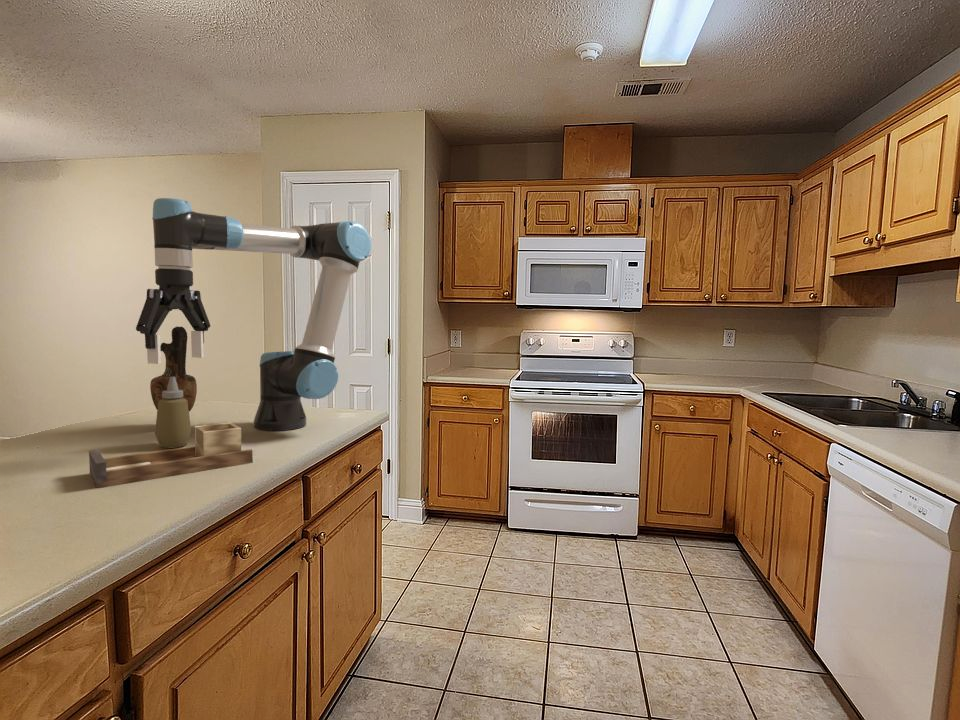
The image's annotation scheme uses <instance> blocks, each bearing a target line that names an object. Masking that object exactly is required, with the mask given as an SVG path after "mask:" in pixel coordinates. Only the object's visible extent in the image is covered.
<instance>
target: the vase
mask: <svg viewBox="0 0 960 720" xmlns="http://www.w3.org/2000/svg"><path fill="white" fill-rule="evenodd" d="M188 338H189V337H188V332H187V330H186V328H185V327H183V326H174V327H173V328H172V329H171V342H170V343H166V342H162V343H160V350H161V352H163V354H164V358H165V370H164V372H163V374H160V375H158V376H156V377H153V378H152V379H151V380H150V382H149V383H150V385H149V387H150V388H149V389H150V395H151V396H150V397H151V399H152V402H153V405H154V408H155V409H156V410H157V409H158V402H159V401H160V400H161V399H164V398H162V392H163V391H166V390H167V387H168V383H169V379H170V377H175V378H176V382H177V386H178V389H179V390H182V391H183V397H182V398H184V399H186V400H187V401H188V409H189V413H190V412H191V411H192V409H193V408H194V407H195V406H194V405H195V402H196V400H197V392H198V389H197V388H198V387H197V386H198V384H197V380H196V378H195V377H194V376H193V375H190V374H187V371H186V363H187V349H188V348H187V347H188V345H187V344H188Z"/></svg>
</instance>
